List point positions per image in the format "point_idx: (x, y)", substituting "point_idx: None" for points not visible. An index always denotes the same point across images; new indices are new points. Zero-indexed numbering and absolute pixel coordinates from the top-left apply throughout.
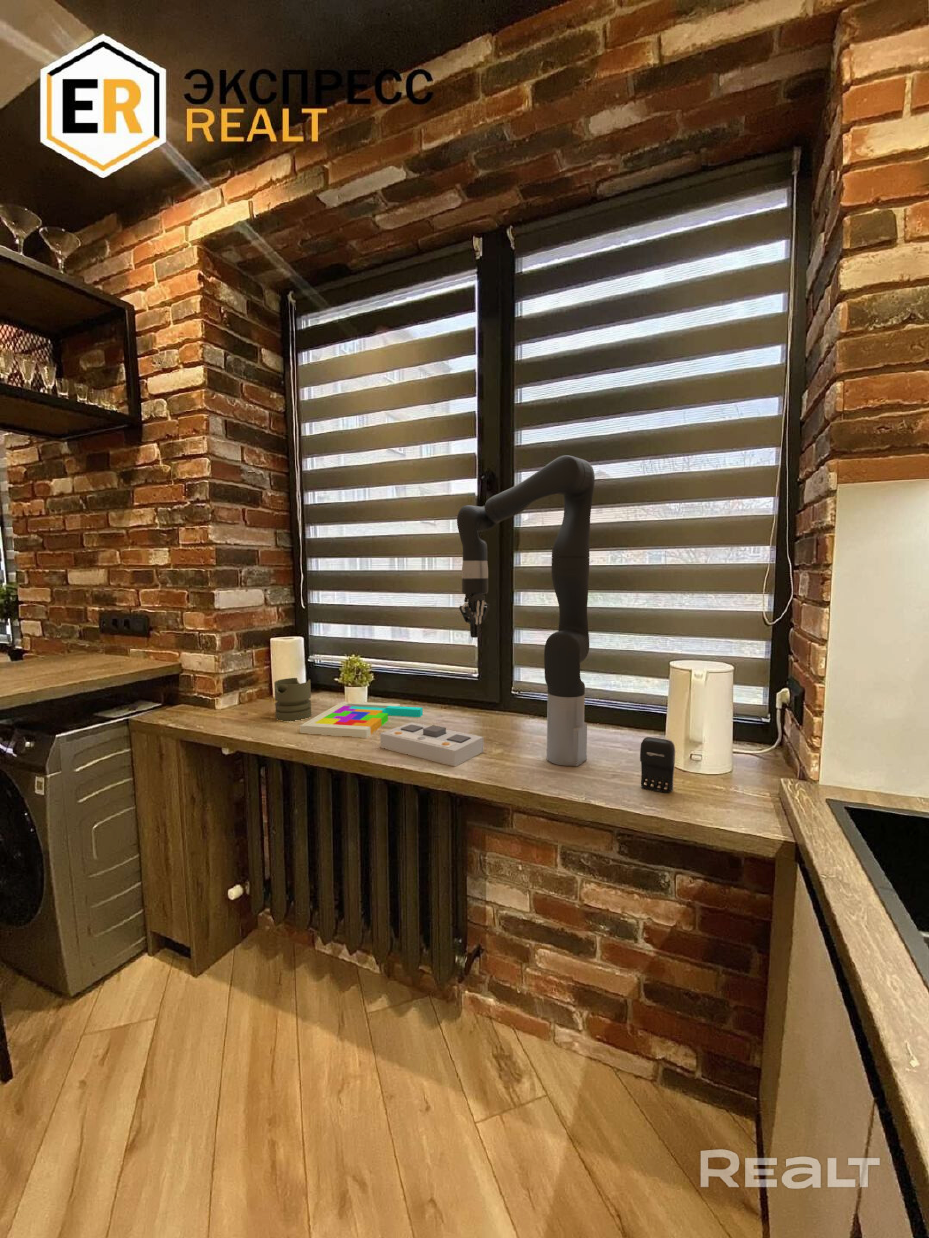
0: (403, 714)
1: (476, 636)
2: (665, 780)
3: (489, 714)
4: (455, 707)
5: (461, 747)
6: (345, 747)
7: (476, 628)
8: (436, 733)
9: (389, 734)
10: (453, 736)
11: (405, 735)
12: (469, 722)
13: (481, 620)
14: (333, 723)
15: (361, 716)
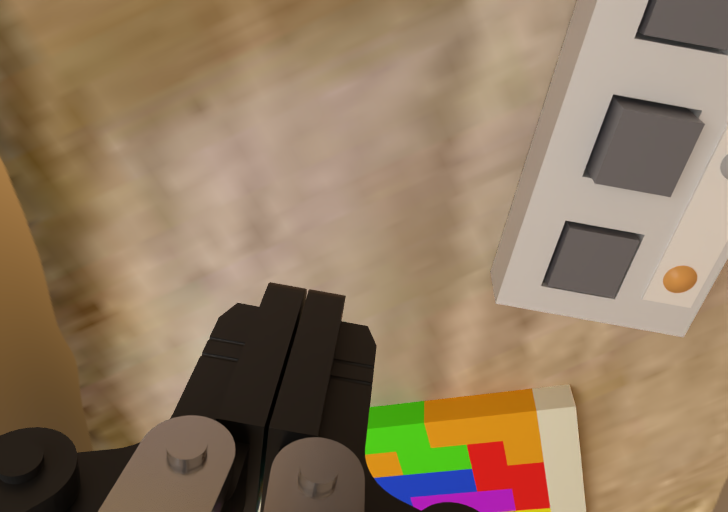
0: None
1: (342, 302)
2: None
3: (46, 99)
4: (55, 277)
5: None
6: (685, 394)
7: (324, 390)
8: (699, 119)
9: (691, 303)
10: (684, 34)
11: (705, 241)
12: (216, 134)
13: (76, 474)
14: (539, 509)
15: (430, 479)
